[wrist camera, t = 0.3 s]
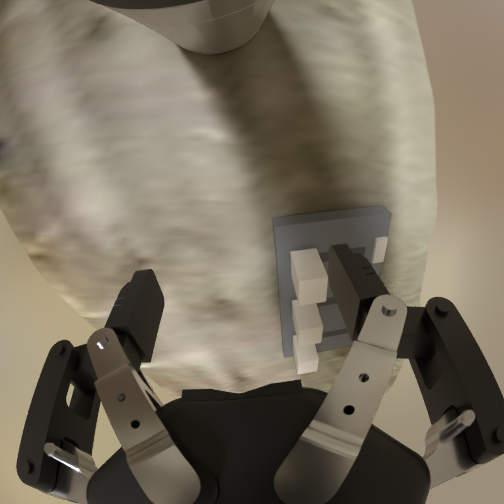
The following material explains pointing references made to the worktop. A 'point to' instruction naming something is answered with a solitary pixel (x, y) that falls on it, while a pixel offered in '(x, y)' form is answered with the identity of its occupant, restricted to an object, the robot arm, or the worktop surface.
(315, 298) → the slider
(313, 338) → the slider middle
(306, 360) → the slider
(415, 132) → the worktop surface
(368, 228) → the switch board
